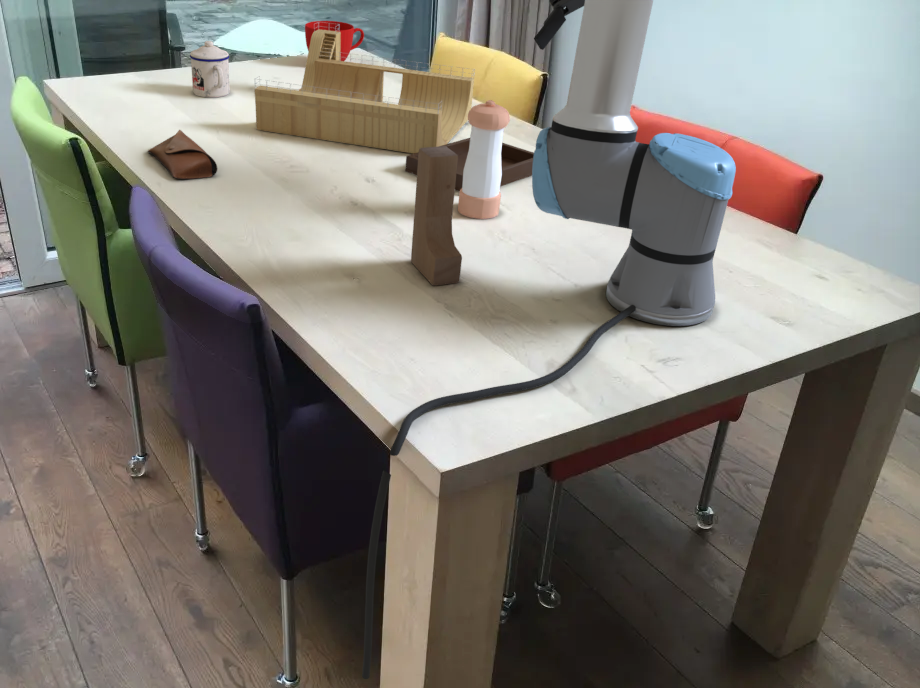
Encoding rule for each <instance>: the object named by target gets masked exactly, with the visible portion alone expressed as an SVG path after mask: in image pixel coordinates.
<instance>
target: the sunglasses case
mask: <svg viewBox="0 0 920 688" xmlns="http://www.w3.org/2000/svg"><path fill="white" fill-rule="evenodd" d="M147 152H148V153H149V154H150V155H152V156H153V157H154V158H155V159H156V160H158V161H159V163H161V165H162V166H163V167H164V168H165V169H166V170H167V171H168V172H169V173H170V175H171V176H172V177H173V178H174V179H178V180H196V179H198V180H199V179H207V178H212V177H214V176H215V175H216V174H217V172H218V165H217V162H216V161H215V159H214V158H213V157H212V156H211V155H209V154H208V153H207V152H206V151H205V150H204V149H203V148H202V147H201V146H200V145H199V144H198V143H197V142H195V141H194V140H193V139H192V138H190V137H189V136H188V135H186V133H184V132H183V131H182V129H178V130H177V132H176V134H175V133H174V135H172V136H170V137H168V138H167V139H165V140H163V141H161V142H160V143H158V144H156V145H155V146H153V147H152V148H150V149H148V150H147Z"/></svg>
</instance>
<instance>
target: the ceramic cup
mask: <svg viewBox="0 0 920 688" xmlns="http://www.w3.org/2000/svg"><path fill="white" fill-rule="evenodd" d="M317 22H318V23H317ZM323 22H326V23H323ZM315 23H316V24H315ZM332 23H334V24H332ZM339 24H340V32H341V41H340V52H341V55H340V61H346V60H347V59H348V58H349V55H350V54H351V51H352V50H353V51H354V50H355V49H356V48H358V47H359V46H360V45H362V42H363V41H364V38H365V33H364V30H363V29H361V28H359V27H355V26H354V25H353V24H351V23H348V22H343V21H335V20H315V21H309V22H307V23H305V24H304V36H305V44H306V49H307V51H308V52H309V47H310V42H311V37H312V34H313V32H315V31H317V30H318V29H320V30H329V31H335V26H336V30H337V32H339V29H337V28H339ZM337 25H338V26H337ZM320 26H322V27H320ZM316 27H317V28H316ZM329 27H331V28H329ZM314 28H315V29H314ZM356 32H359V33H360V37H359V39H358V41H356V43H355V44H353V41H354V34H355V33H356ZM347 53H349V54H347ZM344 57H346V58H344Z"/></svg>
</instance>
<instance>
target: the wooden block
mask: <svg viewBox="0 0 920 688" xmlns="http://www.w3.org/2000/svg"><path fill="white" fill-rule="evenodd" d="M457 161H458V156H457V154H455V153H454V152H453V151H452V150H450V149H449V148H448V147H446V146H441V147H426V148H420V149H419V155H418V169H417V175H416V184H415V185H416V186H415V198H414V213H413V225H412V226H413V227H412V238H411V252H410V253H411V255H410V263H412V265H413V266H414V267H415V268H416V269H417V270H418V271H419V272H420V273H421V275H422V276H423V277H424V278H425V279H426V280H427V281H428V282H429V283H430V284H431V286H434V287H435V286H443V285H450V284H458V283H460V281H461V280H460V279H461V271H462V262H463V256H462V254H461V252H460V251H459V249H458V248H457V247H456V244H455V241H454V236H453V213H454V202H455V192H456V190H455V182H456V172H457Z"/></svg>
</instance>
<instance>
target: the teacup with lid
mask: <svg viewBox="0 0 920 688" xmlns="http://www.w3.org/2000/svg"><path fill="white" fill-rule="evenodd" d="M228 52H229V51H226V50H224V49H221V48H220V47H218V46H216V45H214V42H213V41H212V40H206V41H204V45H202V46H200V47H199V48H197V49H194V50H192V51H191V52H190V53H189V58H190V63H191V64H190V67H191V82H192V92H193V94H194V95H195V96H198V97H201V98H209V99H210V98H212V99H213V98H221V97H226V96H228V95H229V94H230V91H231V90H230V87H231V85H230V64H229V63H230V62H229V58H230V54H229V53H228Z"/></svg>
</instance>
